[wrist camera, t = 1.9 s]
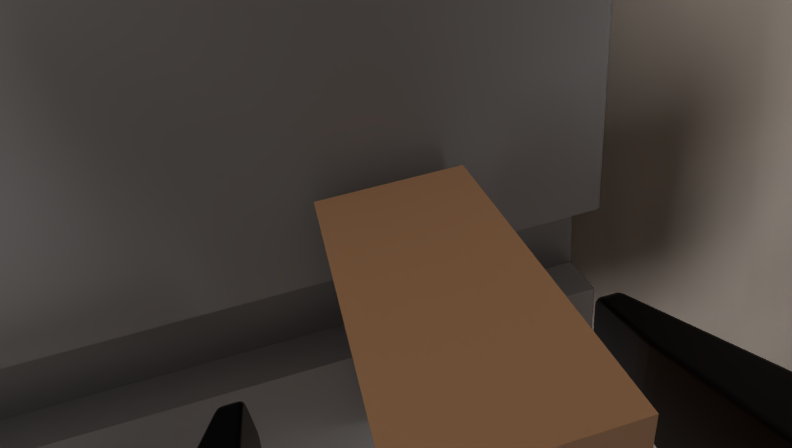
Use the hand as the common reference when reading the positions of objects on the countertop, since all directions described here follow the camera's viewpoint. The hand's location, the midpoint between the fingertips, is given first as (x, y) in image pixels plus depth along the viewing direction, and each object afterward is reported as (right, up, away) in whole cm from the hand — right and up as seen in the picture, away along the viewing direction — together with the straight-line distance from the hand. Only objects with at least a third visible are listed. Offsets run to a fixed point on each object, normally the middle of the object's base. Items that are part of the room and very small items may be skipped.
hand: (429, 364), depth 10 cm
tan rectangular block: (0, +1, +2) cm, 2 cm away
